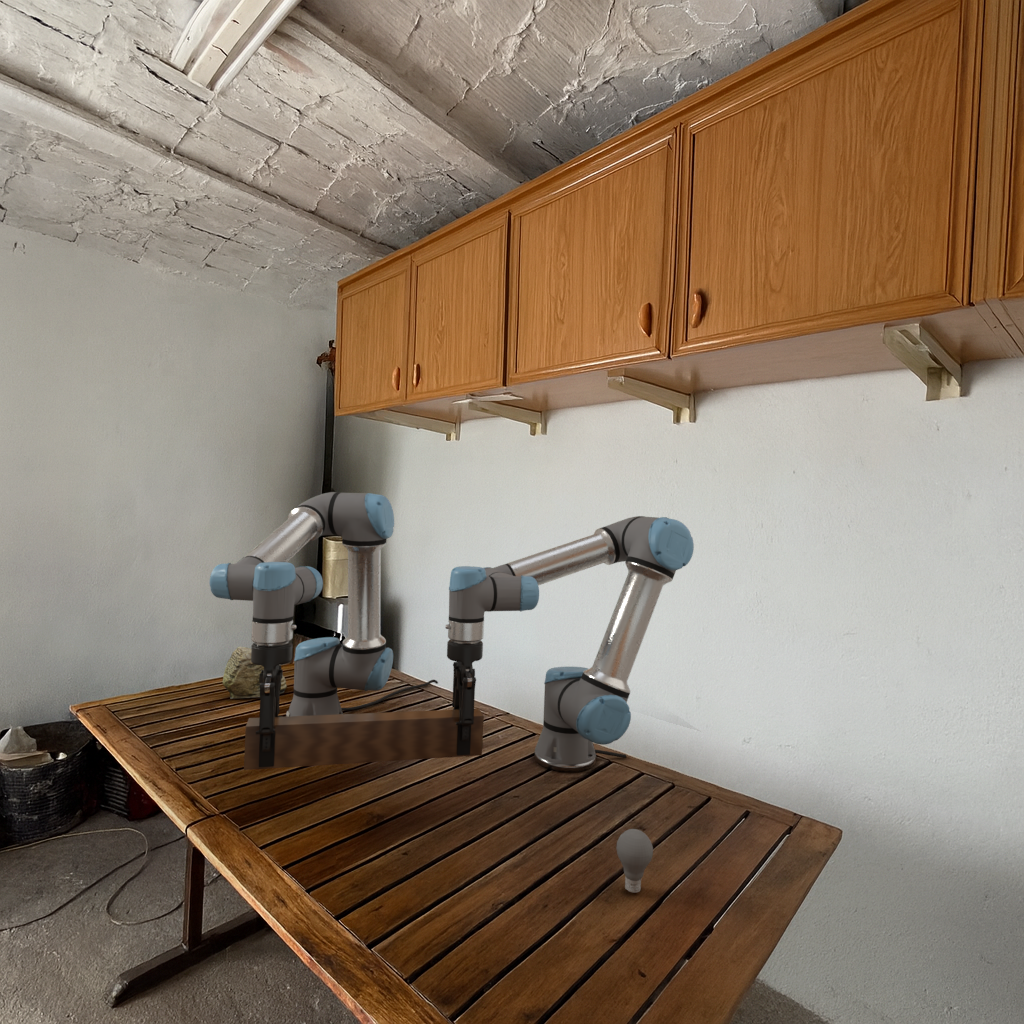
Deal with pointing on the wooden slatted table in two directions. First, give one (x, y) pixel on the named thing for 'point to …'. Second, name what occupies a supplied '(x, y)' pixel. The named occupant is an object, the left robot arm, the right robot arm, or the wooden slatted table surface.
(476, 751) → the plank
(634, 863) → the light bulb
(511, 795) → the wooden slatted table surface
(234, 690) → the fossil
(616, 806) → the wooden slatted table surface
